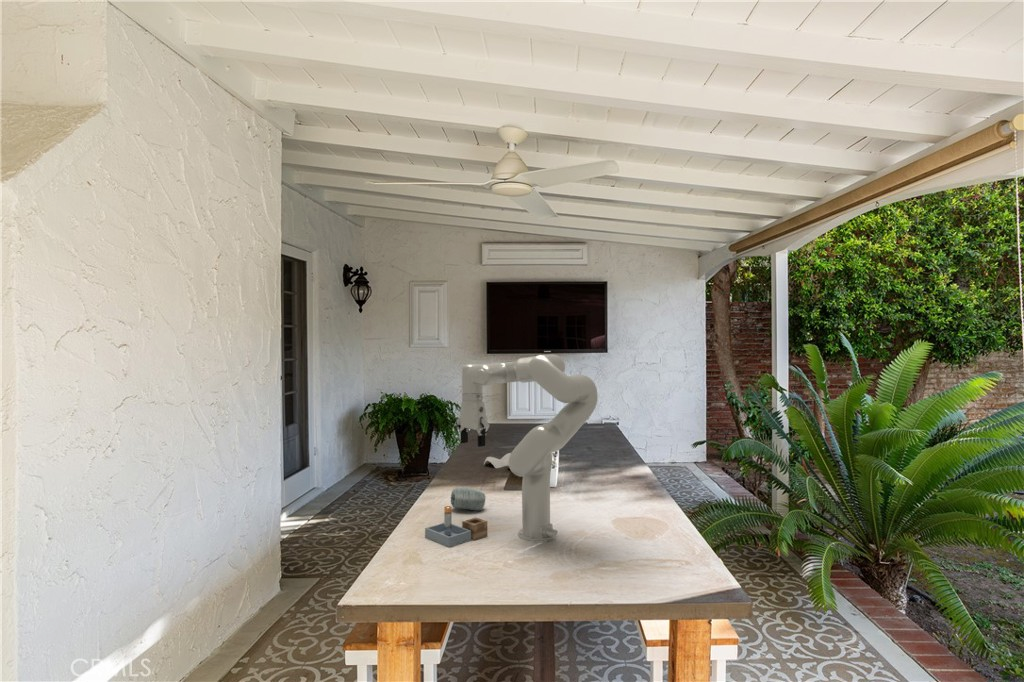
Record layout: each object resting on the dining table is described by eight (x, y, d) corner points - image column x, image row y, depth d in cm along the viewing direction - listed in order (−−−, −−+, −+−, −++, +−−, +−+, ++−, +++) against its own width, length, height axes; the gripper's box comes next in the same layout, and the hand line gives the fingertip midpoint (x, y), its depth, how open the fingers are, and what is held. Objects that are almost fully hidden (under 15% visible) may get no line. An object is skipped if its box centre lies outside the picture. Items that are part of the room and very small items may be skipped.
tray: (471, 540, 187) (471, 530, 187) (449, 547, 181) (449, 537, 181) (446, 530, 197) (446, 521, 197) (425, 537, 190) (425, 528, 190)
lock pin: (453, 536, 189) (453, 507, 189) (447, 538, 187) (447, 508, 187) (448, 535, 190) (448, 505, 190) (442, 536, 189) (442, 507, 189)
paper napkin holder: (479, 472, 286) (479, 453, 286) (500, 465, 302) (499, 447, 302) (521, 478, 273) (521, 458, 273) (540, 470, 289) (540, 451, 289)
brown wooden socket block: (487, 535, 191) (487, 521, 191) (473, 540, 187) (473, 525, 187) (475, 531, 195) (475, 517, 195) (462, 536, 191) (462, 521, 191)
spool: (444, 507, 216) (453, 483, 215) (450, 500, 225) (459, 477, 225) (477, 521, 214) (486, 497, 214) (481, 514, 224) (490, 491, 223)
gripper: (495, 398, 203) (496, 446, 203) (465, 395, 215) (465, 440, 215) (480, 400, 198) (480, 449, 198) (449, 397, 210) (449, 443, 210)
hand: (472, 444), depth 206 cm, fingers open, 9 cm apart
